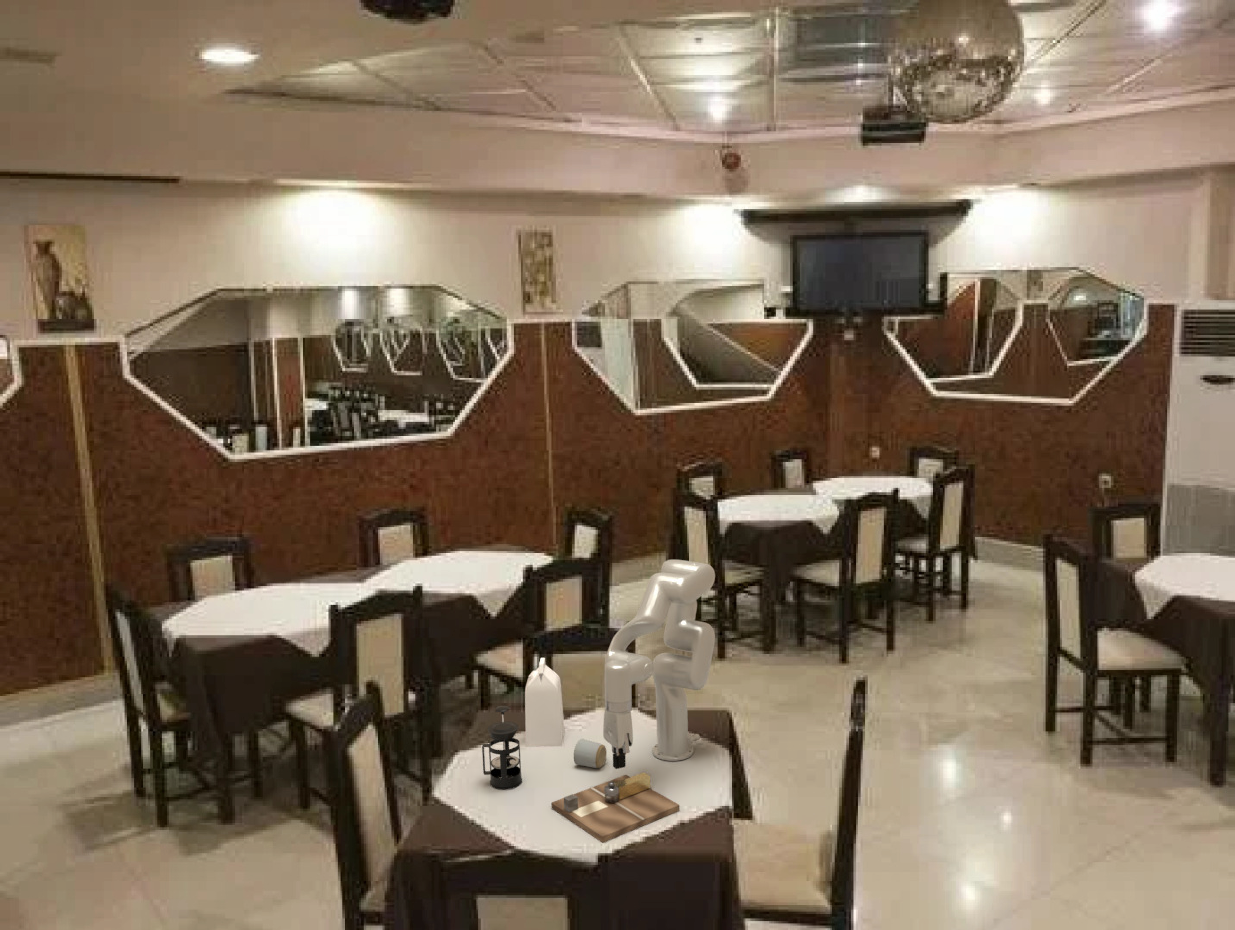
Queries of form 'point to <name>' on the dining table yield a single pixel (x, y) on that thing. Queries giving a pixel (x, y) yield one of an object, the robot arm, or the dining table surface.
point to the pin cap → (611, 784)
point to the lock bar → (627, 787)
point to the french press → (503, 754)
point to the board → (613, 810)
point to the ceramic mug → (589, 753)
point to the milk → (544, 708)
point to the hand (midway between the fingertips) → (619, 766)
